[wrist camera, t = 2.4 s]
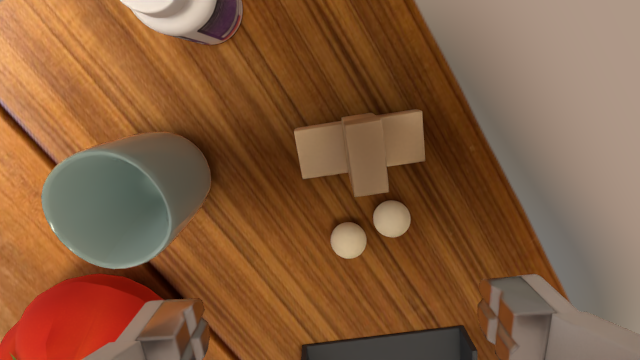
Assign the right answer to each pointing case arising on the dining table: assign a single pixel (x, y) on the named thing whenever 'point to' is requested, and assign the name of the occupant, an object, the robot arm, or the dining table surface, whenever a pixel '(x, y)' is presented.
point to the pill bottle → (190, 18)
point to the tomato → (75, 318)
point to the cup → (126, 197)
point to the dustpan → (398, 347)
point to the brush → (361, 148)
